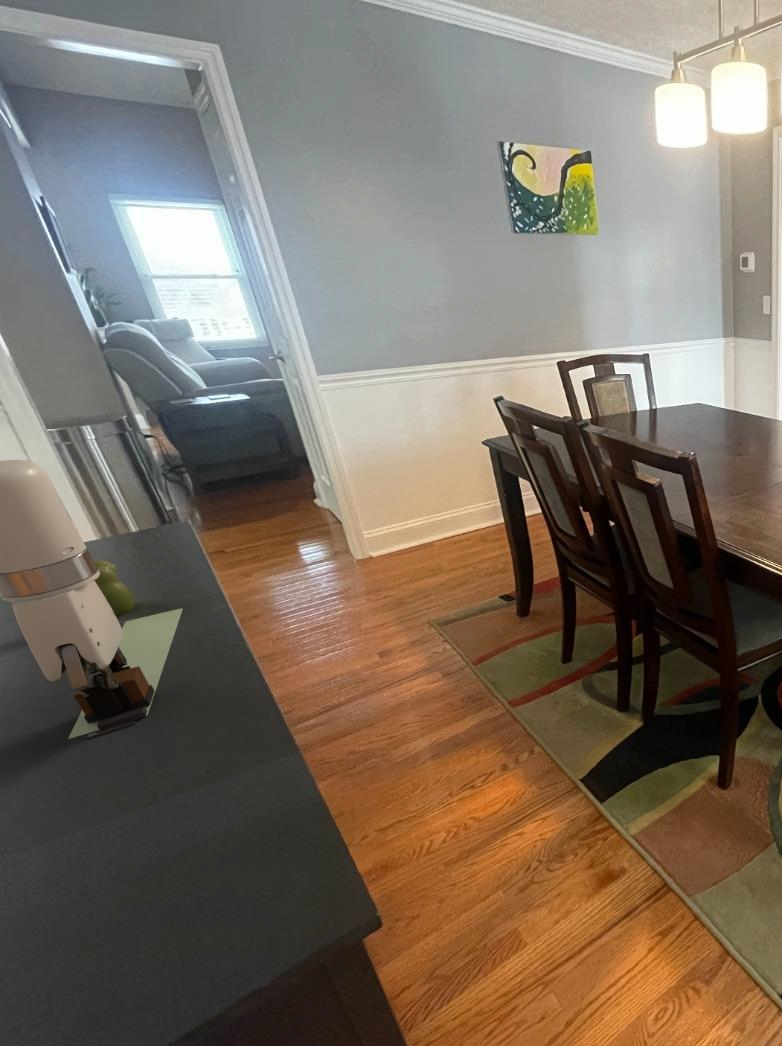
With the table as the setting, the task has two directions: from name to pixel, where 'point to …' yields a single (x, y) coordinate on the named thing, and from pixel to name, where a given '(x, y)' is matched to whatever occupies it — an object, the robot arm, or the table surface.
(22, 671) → the table surface
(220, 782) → the table surface
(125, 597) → the pear
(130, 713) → the chalk
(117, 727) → the chalk
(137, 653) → the board
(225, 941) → the table surface
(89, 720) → the eraser
